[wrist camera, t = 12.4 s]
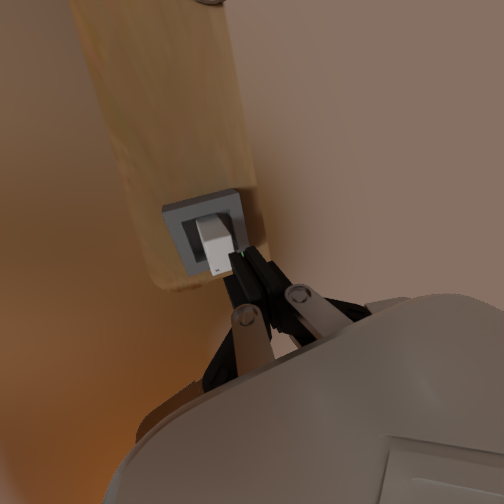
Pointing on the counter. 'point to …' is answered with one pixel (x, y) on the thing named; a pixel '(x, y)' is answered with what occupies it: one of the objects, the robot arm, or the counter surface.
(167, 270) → the counter surface
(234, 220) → the port block
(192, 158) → the counter surface
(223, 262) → the skincare box
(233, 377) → the robot arm
